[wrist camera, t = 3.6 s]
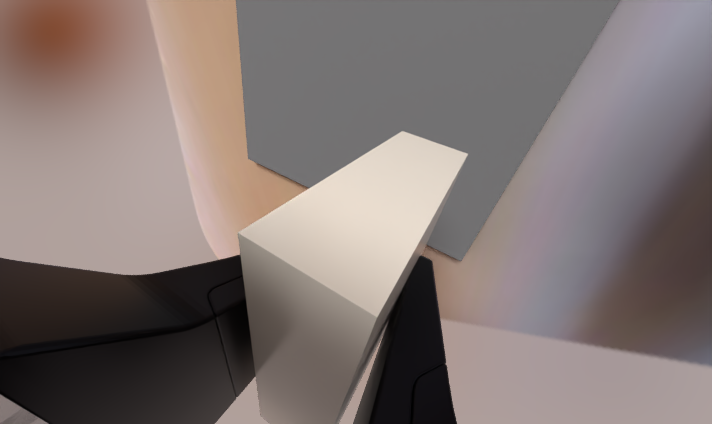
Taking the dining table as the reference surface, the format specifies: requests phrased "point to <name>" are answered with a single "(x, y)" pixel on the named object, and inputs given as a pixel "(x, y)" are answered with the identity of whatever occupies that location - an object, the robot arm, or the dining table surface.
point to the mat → (410, 86)
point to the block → (338, 274)
